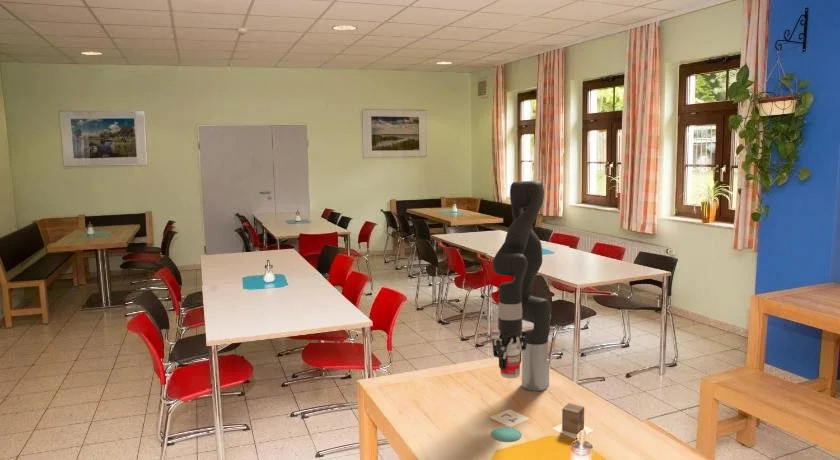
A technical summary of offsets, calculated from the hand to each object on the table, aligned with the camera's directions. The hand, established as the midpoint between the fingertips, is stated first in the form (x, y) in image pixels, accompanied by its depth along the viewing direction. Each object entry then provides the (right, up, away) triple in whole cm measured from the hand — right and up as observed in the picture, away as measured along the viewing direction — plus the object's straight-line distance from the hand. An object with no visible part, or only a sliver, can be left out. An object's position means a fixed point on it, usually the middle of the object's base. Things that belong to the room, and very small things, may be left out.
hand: (510, 366), depth 190 cm
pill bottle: (0, -3, 0) cm, 3 cm away
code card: (0, -17, +2) cm, 18 cm away
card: (+18, -18, -6) cm, 27 cm away
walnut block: (+18, -18, -6) cm, 26 cm away
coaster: (-2, -19, -9) cm, 21 cm away
